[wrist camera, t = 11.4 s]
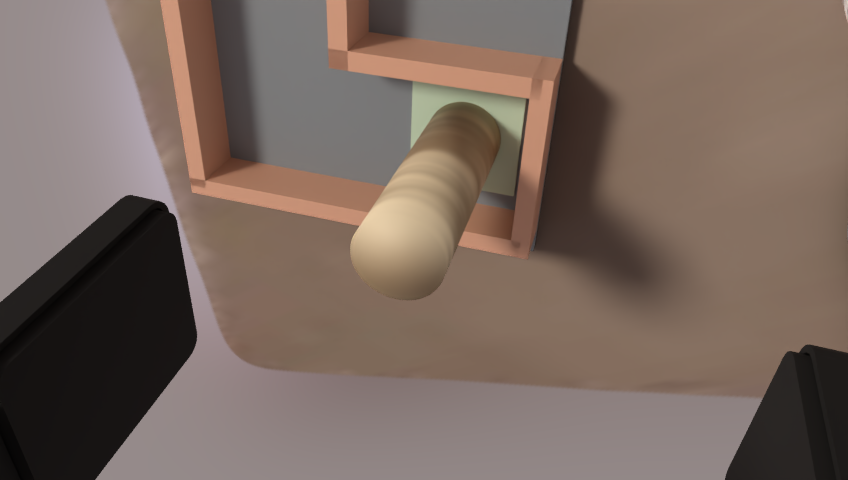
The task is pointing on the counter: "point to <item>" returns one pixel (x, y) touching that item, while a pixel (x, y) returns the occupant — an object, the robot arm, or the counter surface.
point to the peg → (427, 204)
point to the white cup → (845, 7)
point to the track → (364, 100)
